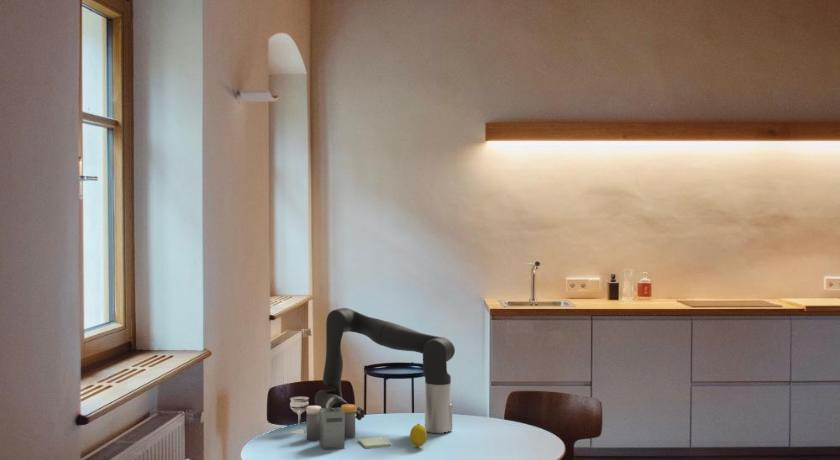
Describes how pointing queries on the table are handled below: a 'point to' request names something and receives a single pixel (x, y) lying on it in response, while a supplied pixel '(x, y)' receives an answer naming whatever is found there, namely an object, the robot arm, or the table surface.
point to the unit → (332, 428)
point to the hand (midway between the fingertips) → (348, 418)
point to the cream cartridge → (313, 423)
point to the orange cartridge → (349, 420)
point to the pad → (374, 442)
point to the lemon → (418, 435)
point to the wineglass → (299, 409)
